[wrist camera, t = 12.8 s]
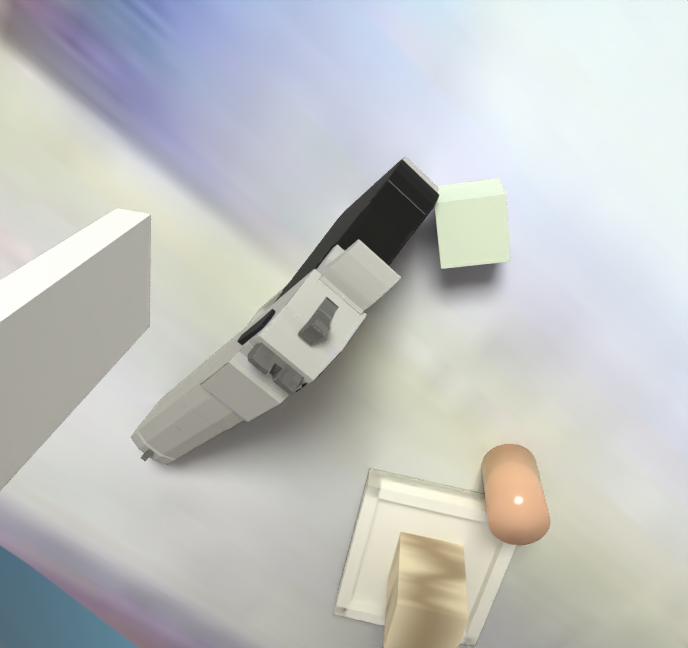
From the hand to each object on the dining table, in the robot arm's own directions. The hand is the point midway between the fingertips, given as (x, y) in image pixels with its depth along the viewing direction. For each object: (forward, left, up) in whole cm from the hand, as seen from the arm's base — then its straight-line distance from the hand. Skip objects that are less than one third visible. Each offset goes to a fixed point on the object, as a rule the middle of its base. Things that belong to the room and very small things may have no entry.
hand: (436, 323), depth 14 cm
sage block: (-4, +5, -28) cm, 29 cm away
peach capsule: (-12, +23, -28) cm, 38 cm away
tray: (-8, +33, -28) cm, 44 cm away
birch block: (-8, +33, -27) cm, 43 cm away
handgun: (+7, +14, -28) cm, 33 cm away
